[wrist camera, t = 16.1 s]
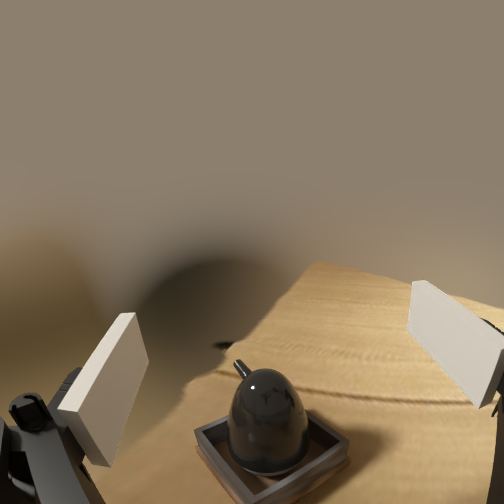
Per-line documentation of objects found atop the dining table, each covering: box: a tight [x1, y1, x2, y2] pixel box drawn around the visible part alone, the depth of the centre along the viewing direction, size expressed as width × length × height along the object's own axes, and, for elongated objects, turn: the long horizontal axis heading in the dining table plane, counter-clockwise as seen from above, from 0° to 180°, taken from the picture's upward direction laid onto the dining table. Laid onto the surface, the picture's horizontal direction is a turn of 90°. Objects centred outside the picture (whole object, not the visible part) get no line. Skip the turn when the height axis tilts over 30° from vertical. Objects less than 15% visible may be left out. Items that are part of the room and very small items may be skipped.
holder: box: [194, 410, 350, 504], centre depth 34 cm, size 15×15×6 cm
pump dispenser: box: [227, 359, 310, 476], centre depth 32 cm, size 10×10×15 cm
